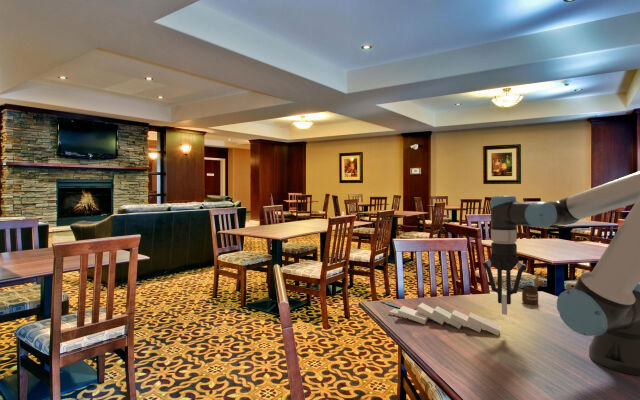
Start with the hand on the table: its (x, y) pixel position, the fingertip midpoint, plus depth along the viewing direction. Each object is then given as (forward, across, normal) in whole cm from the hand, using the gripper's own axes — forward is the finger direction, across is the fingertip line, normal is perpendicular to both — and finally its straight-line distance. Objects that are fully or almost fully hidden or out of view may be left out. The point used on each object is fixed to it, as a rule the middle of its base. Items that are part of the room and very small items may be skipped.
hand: (504, 313), depth 116 cm
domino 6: (+6, +2, 0) cm, 6 cm away
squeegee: (+7, +33, -11) cm, 36 cm away
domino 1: (+6, +30, -1) cm, 30 cm away
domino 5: (+6, +7, 0) cm, 9 cm away
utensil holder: (+7, -8, -43) cm, 44 cm away
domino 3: (+6, +19, -1) cm, 20 cm away
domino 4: (+6, +13, 0) cm, 15 cm away
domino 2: (+6, +25, +2) cm, 26 cm away
